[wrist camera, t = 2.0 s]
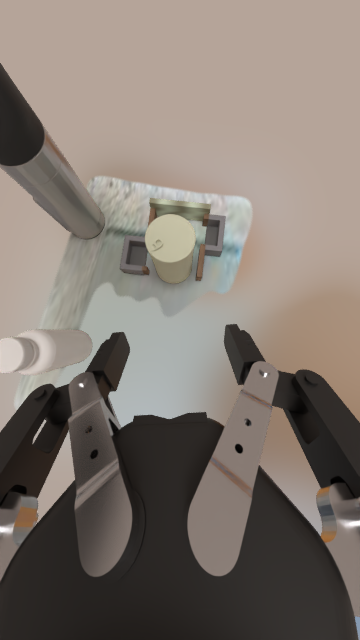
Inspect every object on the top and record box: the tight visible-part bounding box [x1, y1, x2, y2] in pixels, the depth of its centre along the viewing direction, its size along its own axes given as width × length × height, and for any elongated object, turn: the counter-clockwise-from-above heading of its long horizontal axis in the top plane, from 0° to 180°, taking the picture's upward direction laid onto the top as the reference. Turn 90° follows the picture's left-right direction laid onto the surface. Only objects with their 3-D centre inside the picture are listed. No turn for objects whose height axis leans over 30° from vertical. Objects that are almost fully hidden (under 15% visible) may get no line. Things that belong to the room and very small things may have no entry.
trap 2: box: [120, 235, 148, 275], centre depth 37 cm, size 5×8×2 cm, turn 173°
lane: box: [142, 198, 211, 281], centre depth 37 cm, size 14×17×4 cm
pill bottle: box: [0, 329, 92, 375], centre depth 30 cm, size 8×8×15 cm
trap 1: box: [205, 215, 226, 256], centre depth 37 cm, size 4×9×2 cm, turn 173°
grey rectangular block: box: [145, 214, 196, 283], centre depth 32 cm, size 9×9×12 cm
